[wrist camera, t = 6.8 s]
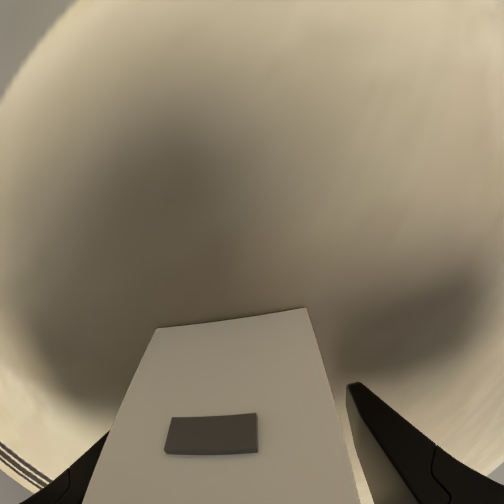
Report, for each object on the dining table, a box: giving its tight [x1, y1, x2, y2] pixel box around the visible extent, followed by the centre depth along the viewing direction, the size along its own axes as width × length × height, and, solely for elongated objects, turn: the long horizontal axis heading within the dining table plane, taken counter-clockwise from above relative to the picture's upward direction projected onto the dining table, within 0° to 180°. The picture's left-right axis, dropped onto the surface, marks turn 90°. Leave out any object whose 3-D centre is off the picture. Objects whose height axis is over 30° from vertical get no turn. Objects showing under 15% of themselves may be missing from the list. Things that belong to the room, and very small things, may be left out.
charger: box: [82, 308, 360, 504], centre depth 7 cm, size 4×9×6 cm, turn 10°
